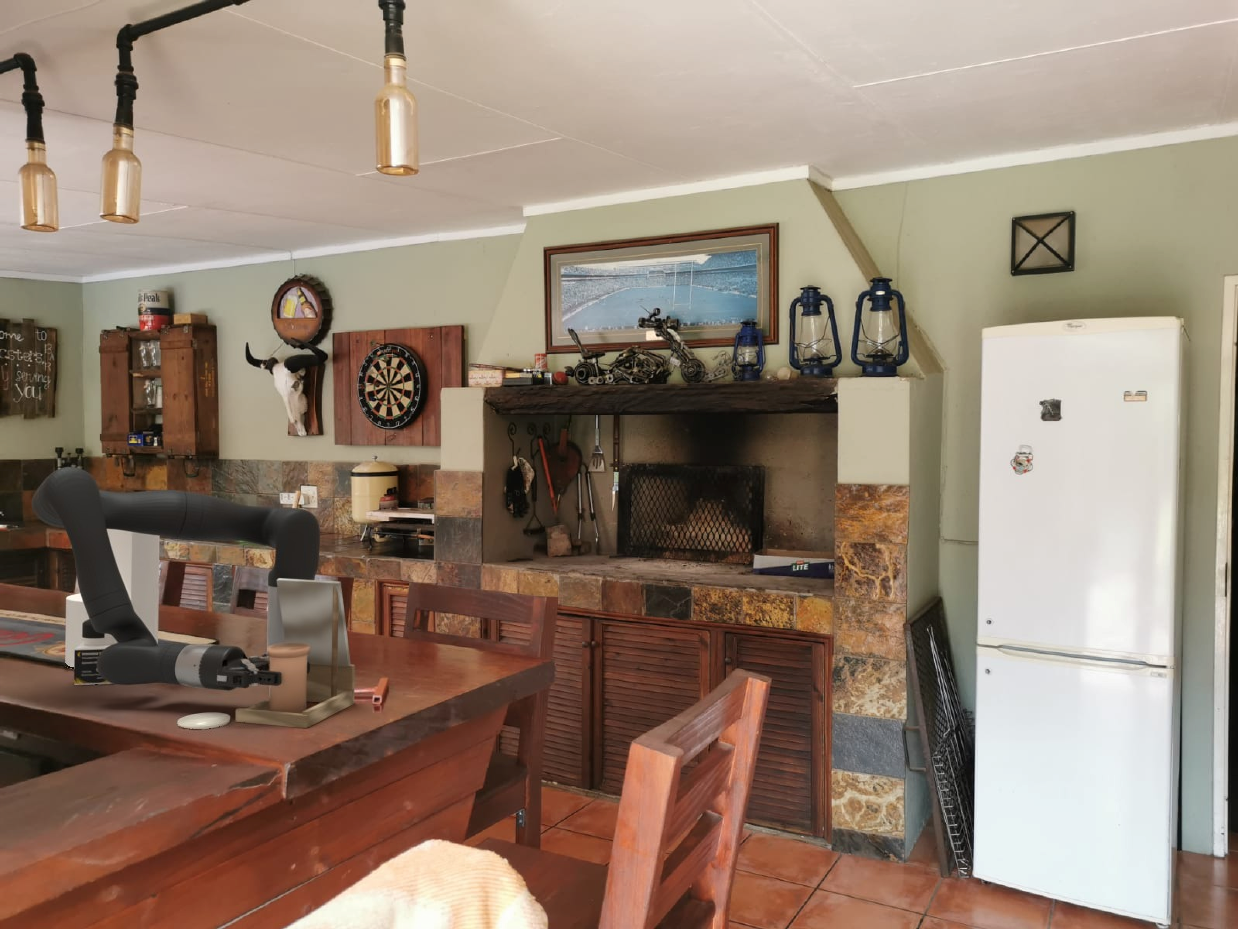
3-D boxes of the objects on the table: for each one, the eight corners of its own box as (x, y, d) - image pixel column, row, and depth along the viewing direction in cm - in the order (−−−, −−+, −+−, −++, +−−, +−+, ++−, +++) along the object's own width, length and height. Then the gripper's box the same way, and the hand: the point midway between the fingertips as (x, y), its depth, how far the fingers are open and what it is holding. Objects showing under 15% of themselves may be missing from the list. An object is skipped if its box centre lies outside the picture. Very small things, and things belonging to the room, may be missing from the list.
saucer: (198, 714, 161) (198, 711, 161) (240, 718, 160) (240, 714, 160) (166, 727, 153) (166, 723, 153) (209, 731, 152) (209, 727, 152)
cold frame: (289, 698, 173) (291, 575, 173) (354, 703, 170) (356, 578, 170) (235, 721, 157) (237, 586, 157) (306, 728, 155) (308, 590, 154)
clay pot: (280, 710, 165) (282, 641, 165) (316, 713, 164) (317, 644, 163) (257, 720, 158) (259, 649, 158) (294, 724, 157) (295, 651, 157)
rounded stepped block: (136, 649, 212) (138, 524, 212) (172, 661, 201) (174, 529, 201) (51, 660, 199) (53, 527, 199) (84, 674, 188) (86, 533, 187)
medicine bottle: (73, 686, 179) (74, 622, 179) (83, 677, 186) (84, 616, 185) (115, 684, 181) (116, 621, 180) (124, 675, 187) (125, 615, 187)
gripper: (183, 653, 157) (271, 659, 154) (236, 637, 171) (317, 643, 167) (183, 698, 157) (270, 706, 154) (235, 679, 171) (317, 685, 167)
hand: (295, 673), depth 160 cm, fingers open, 8 cm apart
